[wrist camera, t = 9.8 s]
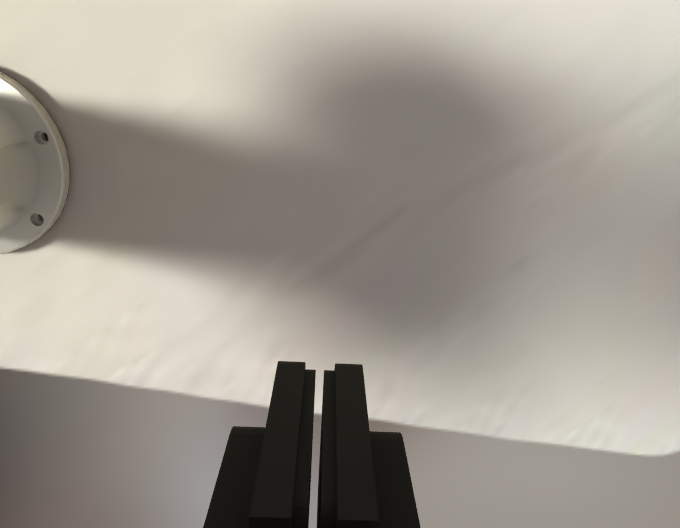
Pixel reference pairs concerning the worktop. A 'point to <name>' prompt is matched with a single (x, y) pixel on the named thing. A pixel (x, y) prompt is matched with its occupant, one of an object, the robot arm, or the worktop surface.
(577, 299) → the worktop surface
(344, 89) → the worktop surface
